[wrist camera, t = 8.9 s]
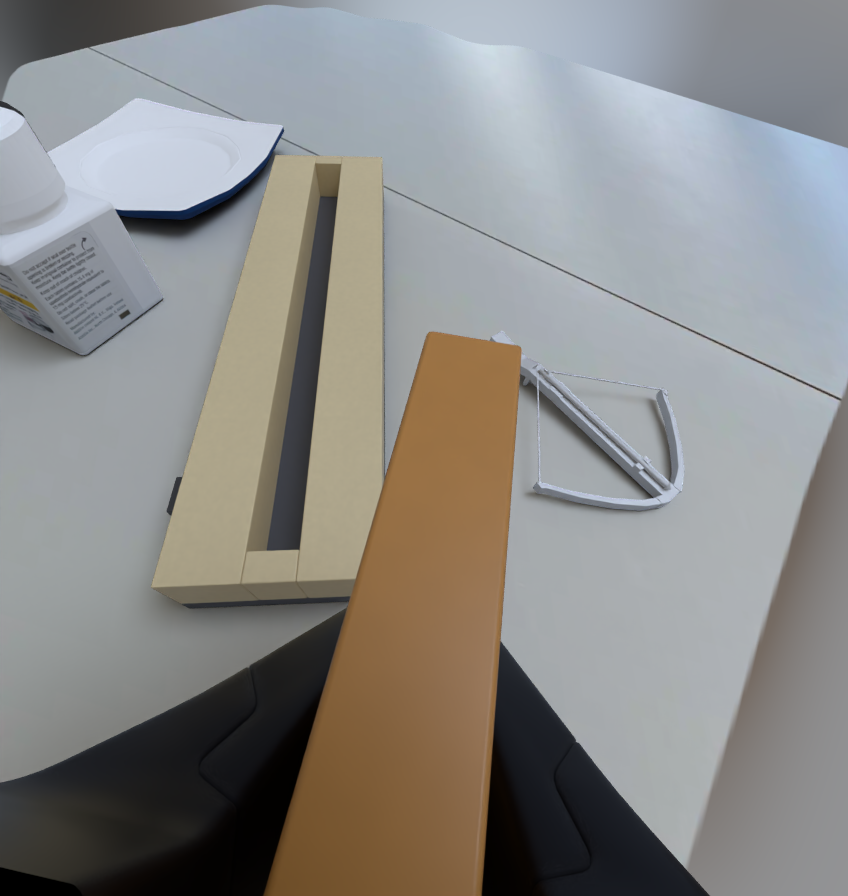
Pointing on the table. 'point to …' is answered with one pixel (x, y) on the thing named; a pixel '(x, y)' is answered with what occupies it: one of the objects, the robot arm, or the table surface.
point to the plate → (165, 159)
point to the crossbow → (607, 441)
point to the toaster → (290, 403)
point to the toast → (416, 652)
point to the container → (63, 250)
